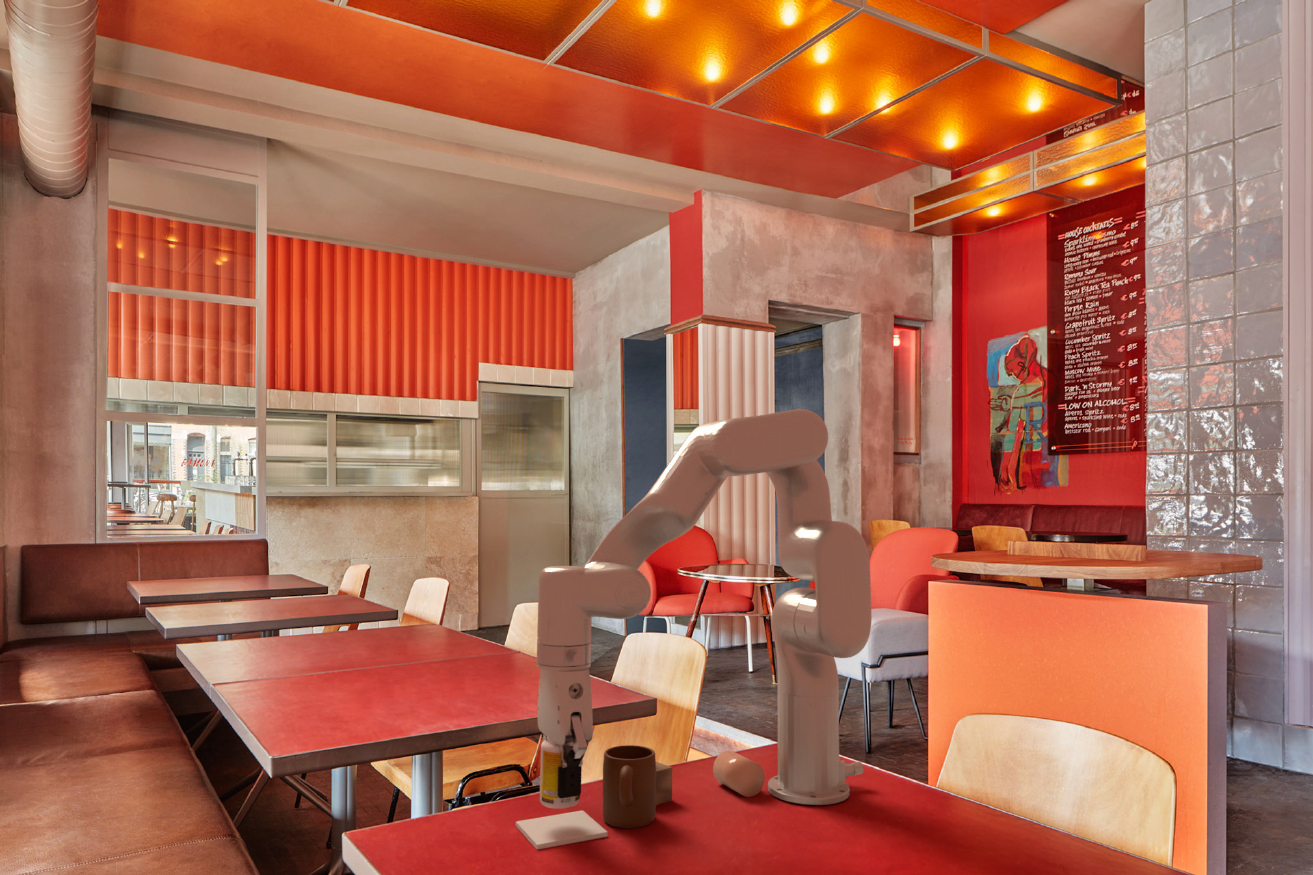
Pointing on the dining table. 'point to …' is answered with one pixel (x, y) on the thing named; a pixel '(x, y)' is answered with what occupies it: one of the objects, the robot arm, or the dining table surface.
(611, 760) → the mug
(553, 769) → the supplement bottle
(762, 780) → the capsule
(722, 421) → the robot arm
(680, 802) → the dining table surface
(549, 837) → the coaster
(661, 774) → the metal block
